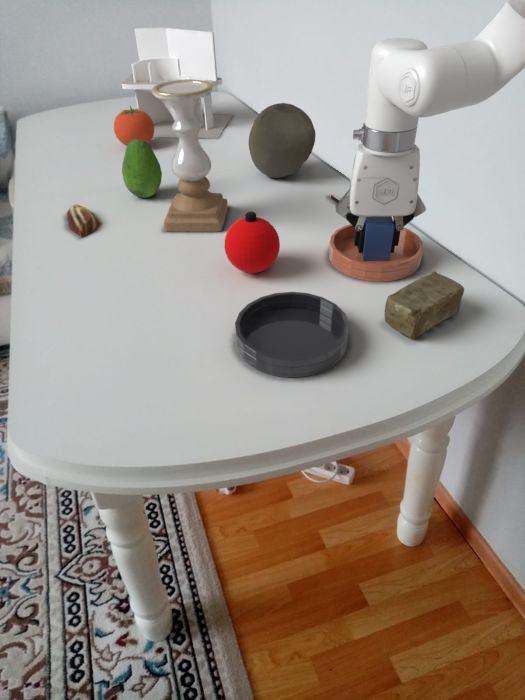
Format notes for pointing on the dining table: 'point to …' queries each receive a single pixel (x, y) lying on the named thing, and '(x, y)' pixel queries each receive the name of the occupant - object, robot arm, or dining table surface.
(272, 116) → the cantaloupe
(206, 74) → the architectural model
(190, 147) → the candle holder
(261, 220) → the ornament
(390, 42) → the robot arm
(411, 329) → the stone block
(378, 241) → the blue block
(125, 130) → the tomato
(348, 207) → the pen
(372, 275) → the terracotta bowl
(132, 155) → the fruit
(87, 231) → the decorative stone
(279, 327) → the charcoal bowl
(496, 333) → the dining table surface
